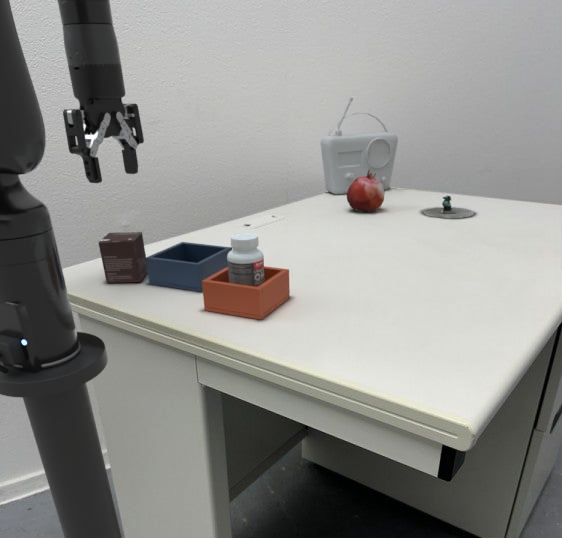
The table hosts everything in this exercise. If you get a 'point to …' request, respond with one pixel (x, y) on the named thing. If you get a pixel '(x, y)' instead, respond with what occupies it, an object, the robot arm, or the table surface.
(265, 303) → the terracotta bin
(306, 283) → the table surface
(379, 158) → the radio
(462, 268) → the table surface
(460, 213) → the sculpture
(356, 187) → the fruit
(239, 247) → the pill bottle
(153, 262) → the slate bin
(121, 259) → the box
